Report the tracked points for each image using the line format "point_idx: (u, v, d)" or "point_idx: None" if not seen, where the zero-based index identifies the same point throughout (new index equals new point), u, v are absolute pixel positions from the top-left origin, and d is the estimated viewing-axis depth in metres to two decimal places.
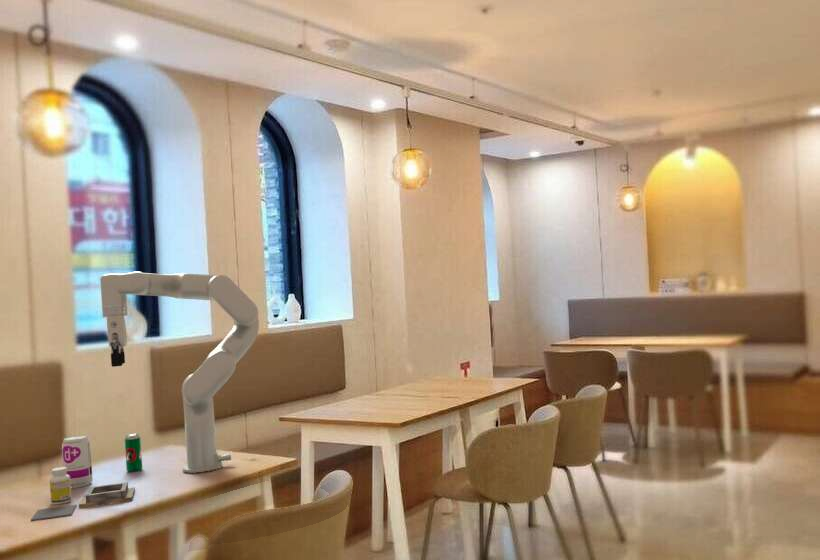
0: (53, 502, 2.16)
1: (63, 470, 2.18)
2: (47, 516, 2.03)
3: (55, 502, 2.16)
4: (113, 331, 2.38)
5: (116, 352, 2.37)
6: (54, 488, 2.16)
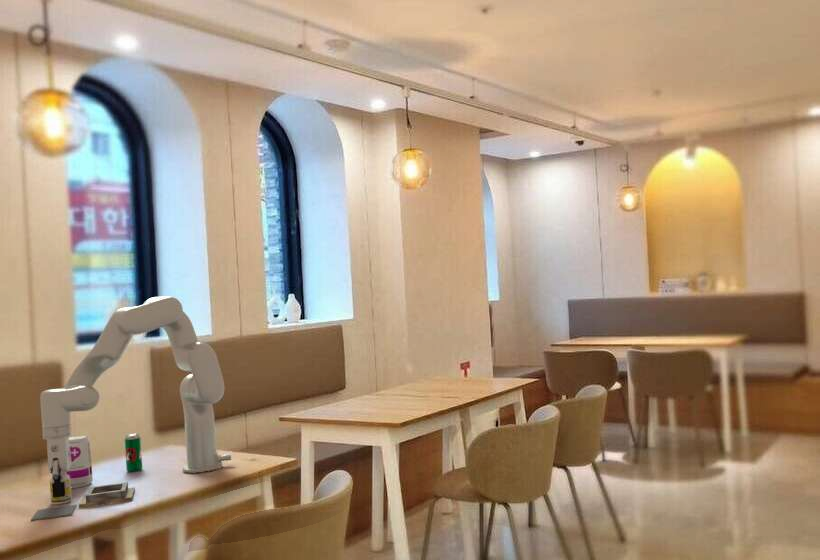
0: (53, 502, 2.16)
1: None
2: (47, 516, 2.03)
3: (55, 502, 2.16)
4: (53, 456, 2.14)
5: (58, 483, 2.15)
6: None
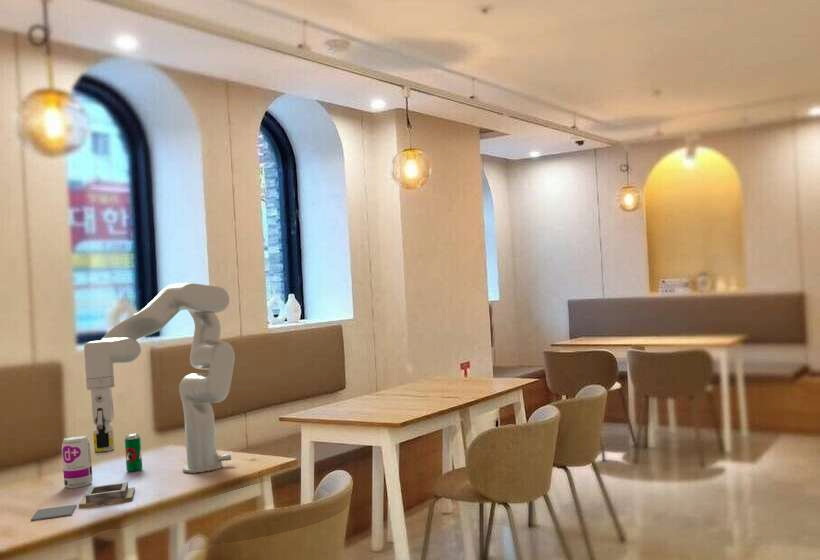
0: (97, 453, 2.16)
1: None
2: (47, 516, 2.03)
3: (99, 453, 2.16)
4: (98, 406, 2.14)
5: (102, 433, 2.15)
6: None
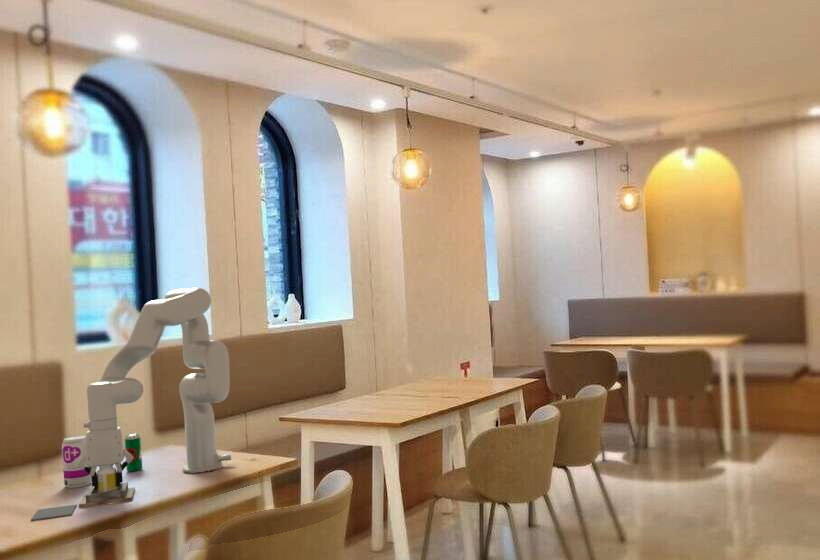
0: None
1: None
2: (47, 516, 2.03)
3: None
4: None
5: None
6: None
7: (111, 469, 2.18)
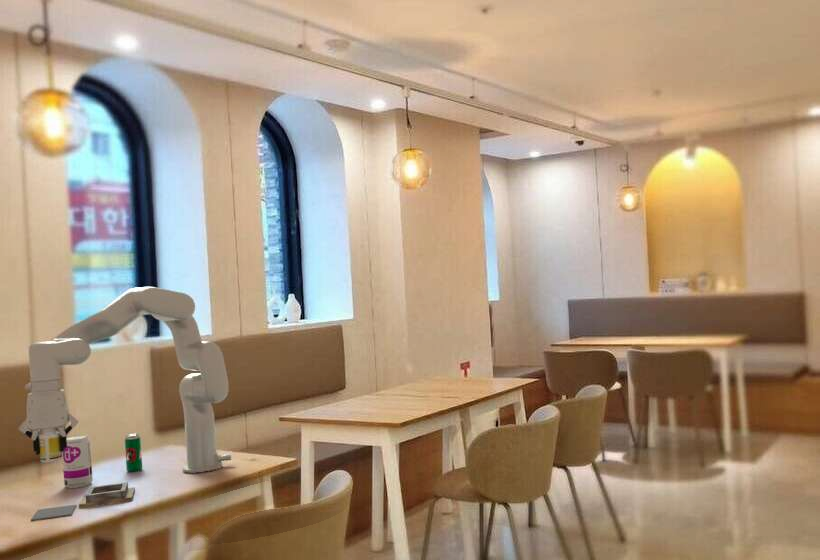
0: None
1: None
2: (47, 516, 2.03)
3: None
4: None
5: (32, 439, 2.06)
6: None
7: (54, 433, 2.06)
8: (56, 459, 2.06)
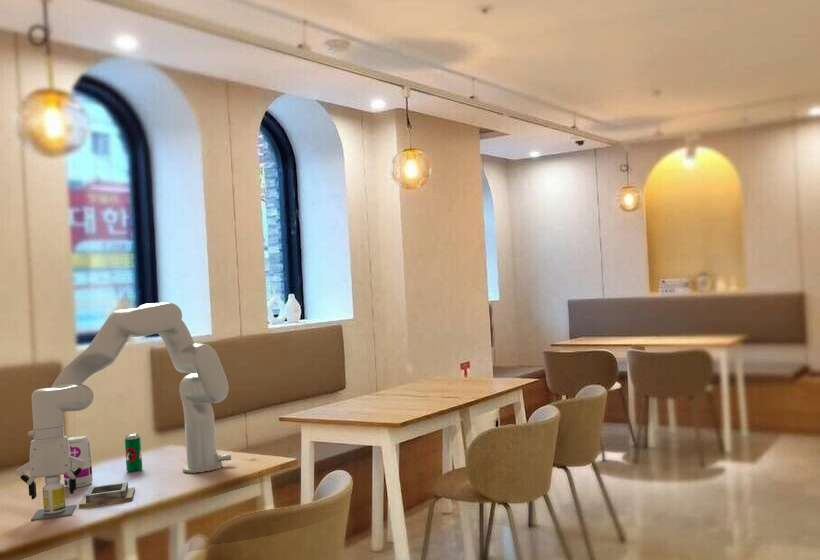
0: None
1: (46, 479, 2.06)
2: (47, 516, 2.03)
3: None
4: None
5: None
6: None
7: (58, 484, 2.06)
8: (60, 510, 2.06)
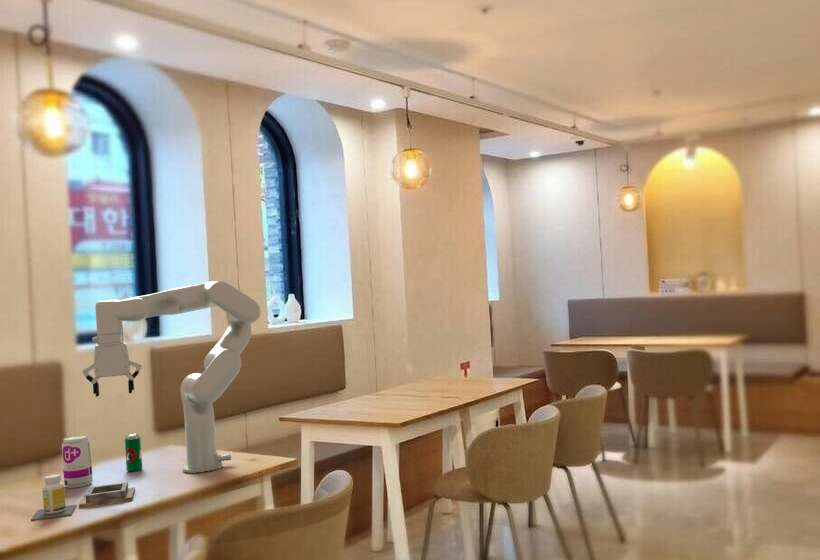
0: None
1: (46, 479, 2.06)
2: (47, 516, 2.03)
3: None
4: None
5: None
6: None
7: (58, 484, 2.06)
8: (60, 510, 2.06)
